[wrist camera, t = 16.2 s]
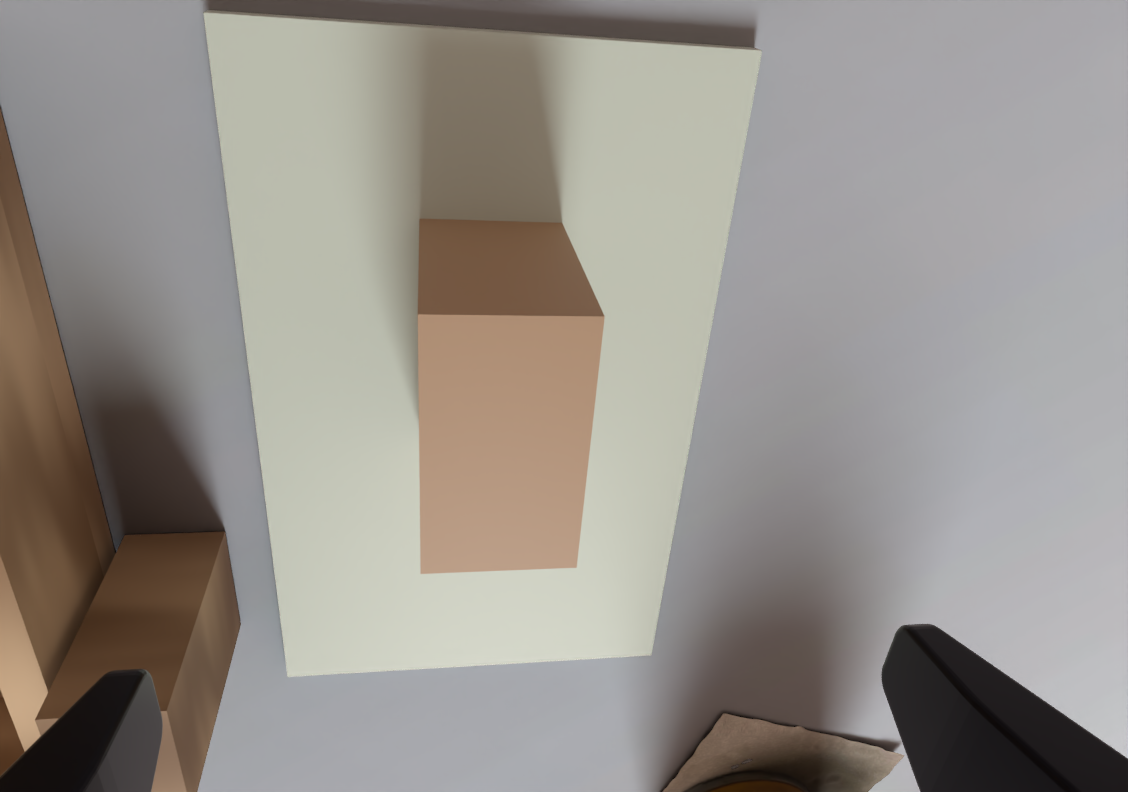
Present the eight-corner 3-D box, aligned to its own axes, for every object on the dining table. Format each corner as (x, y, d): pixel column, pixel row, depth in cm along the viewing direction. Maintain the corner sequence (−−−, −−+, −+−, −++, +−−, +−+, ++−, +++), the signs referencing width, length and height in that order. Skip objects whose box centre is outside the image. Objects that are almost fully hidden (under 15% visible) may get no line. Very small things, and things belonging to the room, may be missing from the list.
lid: (642, 628, 24) (696, 803, 19) (293, 647, 22) (257, 843, 17) (744, 43, 16) (876, 94, 11) (216, 7, 14) (115, 48, 10)
